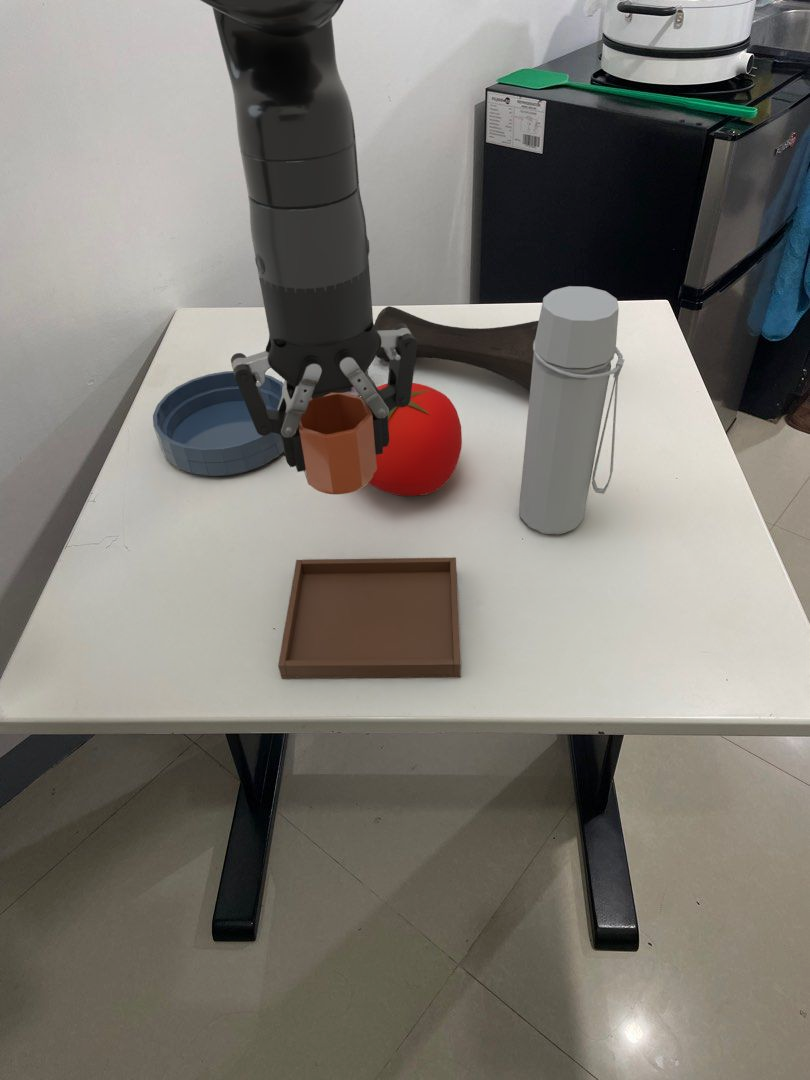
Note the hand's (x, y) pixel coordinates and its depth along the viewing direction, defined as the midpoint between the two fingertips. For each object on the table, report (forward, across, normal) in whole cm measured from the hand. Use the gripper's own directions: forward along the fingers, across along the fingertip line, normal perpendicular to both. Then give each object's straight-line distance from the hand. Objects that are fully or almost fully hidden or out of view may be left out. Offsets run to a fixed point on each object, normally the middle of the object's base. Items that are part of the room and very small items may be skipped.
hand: (337, 456), depth 61 cm
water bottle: (+18, -24, -4) cm, 30 cm away
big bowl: (+18, +9, -32) cm, 37 cm away
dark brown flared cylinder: (+18, -25, -34) cm, 46 cm away
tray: (+18, -1, +4) cm, 18 cm away
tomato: (+18, -10, -16) cm, 26 cm away
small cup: (+2, 0, 0) cm, 2 cm away
